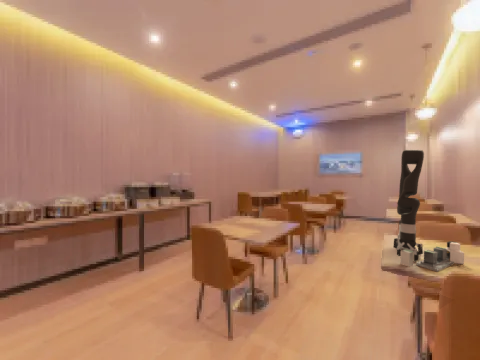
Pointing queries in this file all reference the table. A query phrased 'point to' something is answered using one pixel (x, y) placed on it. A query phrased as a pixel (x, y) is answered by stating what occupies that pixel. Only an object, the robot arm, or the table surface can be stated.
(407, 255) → the block
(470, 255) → the table surface
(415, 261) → the block
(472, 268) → the table surface
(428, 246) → the table surface
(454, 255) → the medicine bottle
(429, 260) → the board
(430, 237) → the table surface
